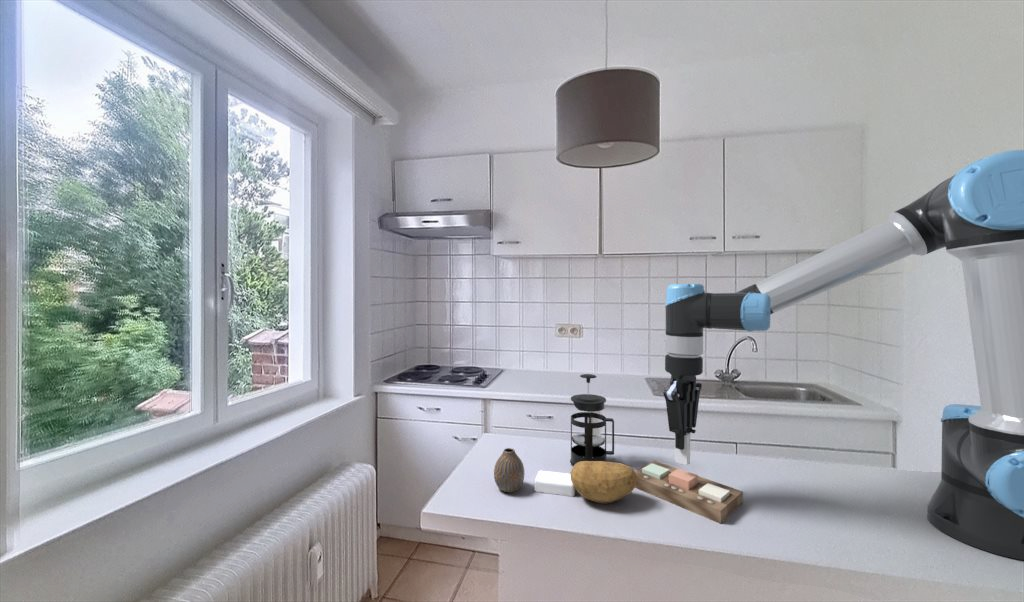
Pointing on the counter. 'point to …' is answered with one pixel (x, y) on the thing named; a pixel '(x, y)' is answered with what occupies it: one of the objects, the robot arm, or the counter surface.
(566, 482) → the soap
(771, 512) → the counter surface
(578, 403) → the french press
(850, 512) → the counter surface
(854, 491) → the counter surface
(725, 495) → the cream button
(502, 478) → the vase
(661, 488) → the console
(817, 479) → the counter surface
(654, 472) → the sage button
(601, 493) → the potato
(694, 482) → the terracotta button
